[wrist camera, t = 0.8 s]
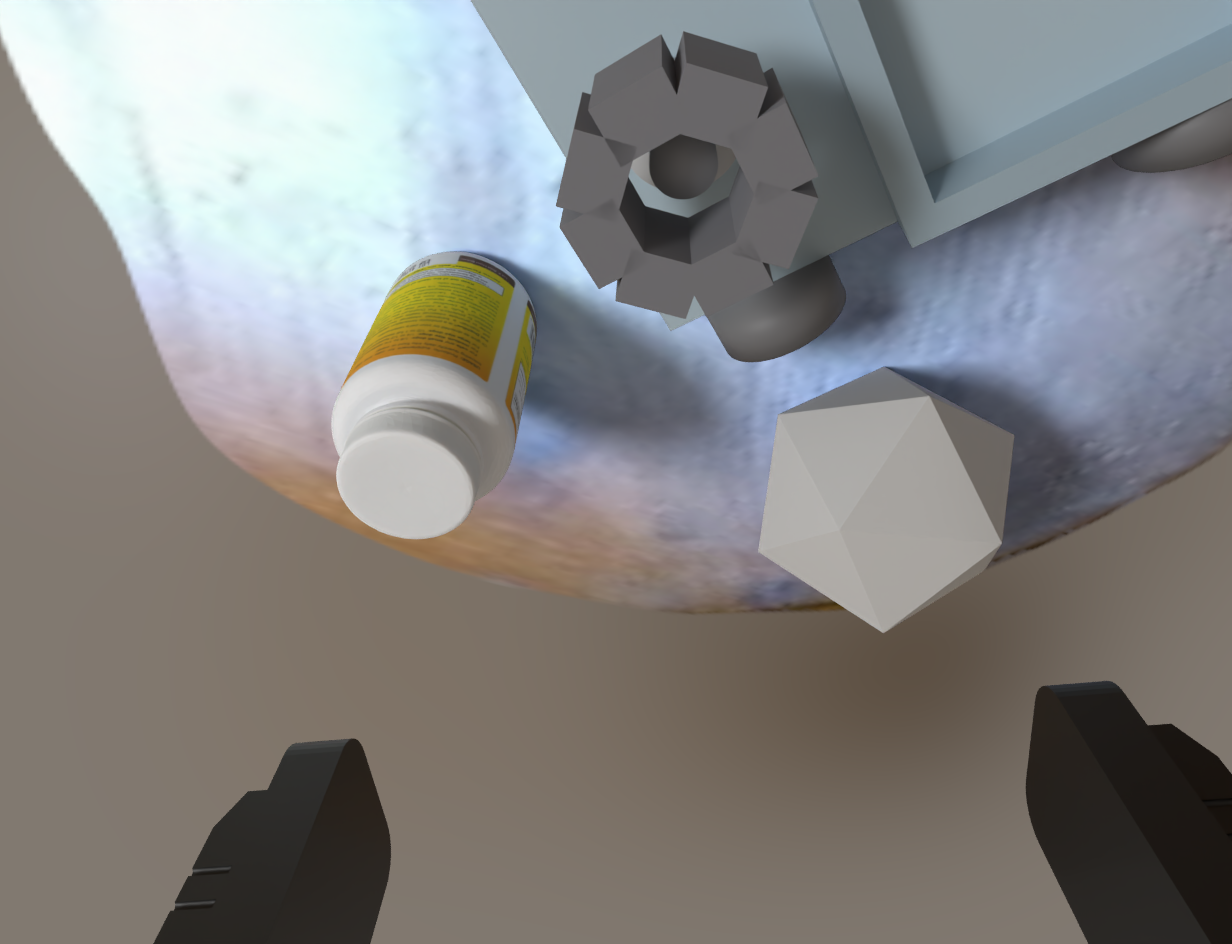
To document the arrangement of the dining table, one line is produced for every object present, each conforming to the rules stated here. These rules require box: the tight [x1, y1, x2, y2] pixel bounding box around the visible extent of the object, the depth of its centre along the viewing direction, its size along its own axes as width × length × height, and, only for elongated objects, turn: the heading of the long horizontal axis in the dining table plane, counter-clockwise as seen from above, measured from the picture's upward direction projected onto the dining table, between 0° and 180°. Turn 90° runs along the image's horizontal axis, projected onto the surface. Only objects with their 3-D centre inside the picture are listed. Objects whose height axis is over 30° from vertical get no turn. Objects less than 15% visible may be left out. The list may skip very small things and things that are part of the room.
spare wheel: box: [556, 31, 818, 319], centre depth 23 cm, size 6×6×3 cm
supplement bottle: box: [331, 251, 537, 539], centre depth 30 cm, size 6×6×10 cm
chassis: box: [471, 0, 1232, 362], centre depth 24 cm, size 15×20×6 cm
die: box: [758, 367, 1014, 633], centre depth 33 cm, size 8×9×10 cm
